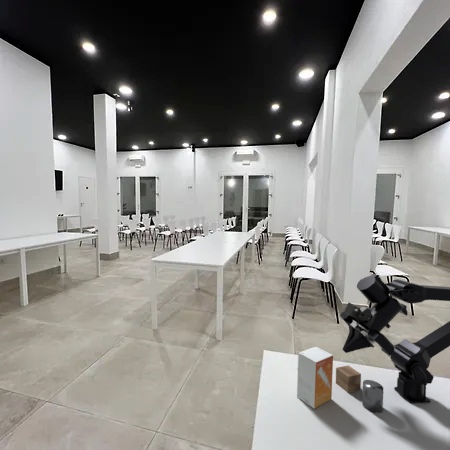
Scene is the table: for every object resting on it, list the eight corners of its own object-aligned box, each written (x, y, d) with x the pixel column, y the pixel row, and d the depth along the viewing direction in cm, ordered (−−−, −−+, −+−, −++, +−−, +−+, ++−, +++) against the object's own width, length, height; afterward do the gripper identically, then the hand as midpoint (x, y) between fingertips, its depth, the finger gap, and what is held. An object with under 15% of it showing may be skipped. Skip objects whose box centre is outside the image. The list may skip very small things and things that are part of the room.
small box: (314, 410, 70) (315, 362, 70) (296, 396, 76) (297, 352, 76) (332, 399, 75) (333, 354, 75) (314, 387, 80) (315, 345, 80)
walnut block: (347, 380, 84) (348, 365, 84) (360, 390, 80) (361, 373, 80) (335, 383, 83) (336, 367, 83) (347, 393, 78) (348, 376, 78)
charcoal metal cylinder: (374, 400, 75) (375, 379, 75) (387, 412, 70) (387, 391, 70) (358, 400, 75) (359, 380, 75) (369, 413, 70) (370, 391, 70)
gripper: (346, 286, 85) (312, 319, 85) (385, 304, 67) (342, 347, 66) (368, 310, 86) (335, 343, 85) (413, 334, 67) (371, 377, 67)
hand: (344, 351), depth 76 cm, fingers closed
